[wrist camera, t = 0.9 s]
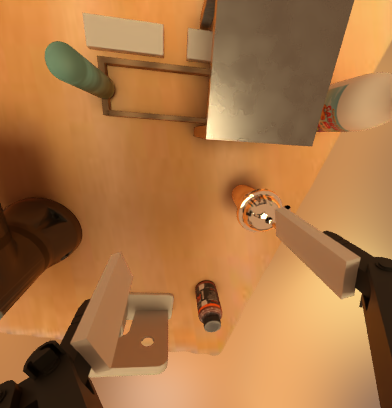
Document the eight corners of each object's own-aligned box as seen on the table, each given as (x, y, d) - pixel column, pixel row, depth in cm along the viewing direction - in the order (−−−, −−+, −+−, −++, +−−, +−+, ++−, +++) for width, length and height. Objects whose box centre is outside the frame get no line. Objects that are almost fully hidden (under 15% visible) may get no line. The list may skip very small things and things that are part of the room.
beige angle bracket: (110, 317, 53) (81, 403, 36) (110, 291, 49) (76, 373, 32) (170, 317, 55) (168, 397, 39) (174, 292, 52) (173, 369, 35)
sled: (98, 114, 33) (54, 105, 21) (91, 57, 30) (34, 7, 18) (248, 126, 37) (284, 124, 25) (256, 76, 34) (301, 45, 22)
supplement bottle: (194, 281, 51) (199, 320, 40) (215, 278, 51) (225, 315, 41) (195, 296, 53) (201, 337, 43) (215, 293, 54) (225, 333, 43)
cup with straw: (219, 208, 43) (253, 265, 25) (228, 171, 40) (274, 205, 22) (252, 212, 45) (307, 269, 26) (263, 176, 41) (335, 213, 23)
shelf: (193, 135, 37) (205, 139, 22) (200, 17, 30) (225, -95, 15) (259, 140, 38) (311, 146, 24) (279, 29, 32) (371, -61, 17)
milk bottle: (309, 81, 35) (457, 26, 17) (336, 102, 37) (496, 74, 19) (285, 120, 37) (393, 109, 19) (312, 138, 39) (434, 144, 21)
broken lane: (89, 48, 30) (65, 25, 23) (86, 17, 28) (58, -18, 22) (256, 69, 33) (277, 53, 27) (261, 42, 32) (283, 18, 25)
